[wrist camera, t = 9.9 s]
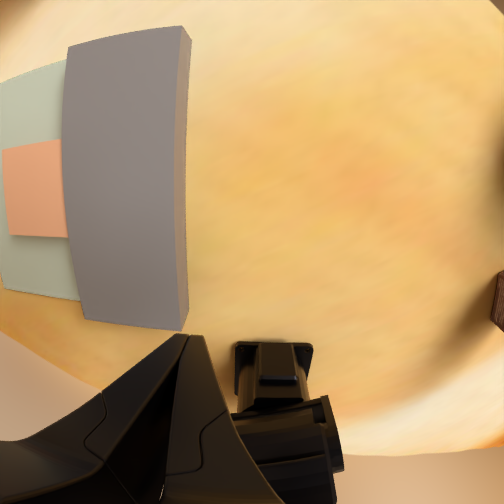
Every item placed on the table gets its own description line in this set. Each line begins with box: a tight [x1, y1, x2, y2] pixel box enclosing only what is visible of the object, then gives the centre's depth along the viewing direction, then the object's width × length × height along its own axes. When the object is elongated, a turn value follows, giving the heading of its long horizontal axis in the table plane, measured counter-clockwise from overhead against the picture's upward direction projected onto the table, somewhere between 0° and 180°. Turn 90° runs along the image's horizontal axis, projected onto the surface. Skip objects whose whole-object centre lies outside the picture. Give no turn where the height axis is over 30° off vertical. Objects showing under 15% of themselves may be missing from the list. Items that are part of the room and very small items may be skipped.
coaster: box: [2, 139, 69, 238], centre depth 18 cm, size 7×7×2 cm
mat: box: [0, 59, 80, 301], centre depth 19 cm, size 20×12×1 cm, turn 177°
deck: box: [62, 26, 192, 331], centre depth 18 cm, size 20×8×3 cm, turn 177°
